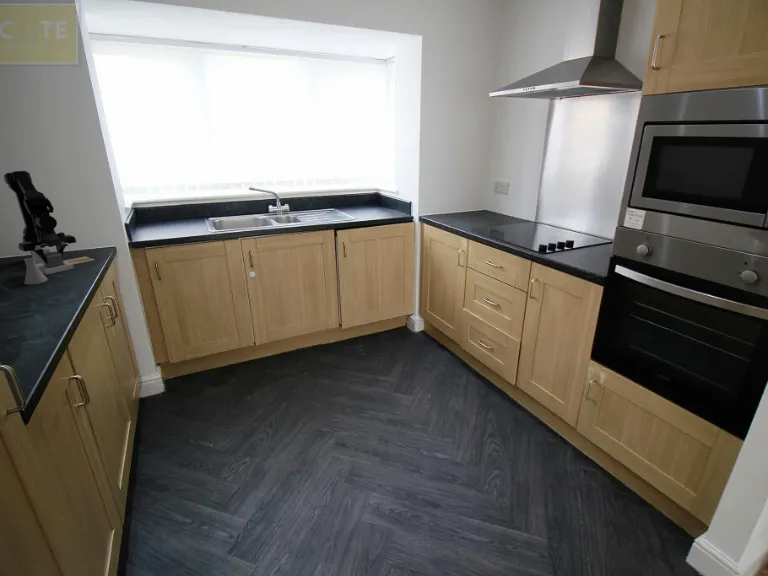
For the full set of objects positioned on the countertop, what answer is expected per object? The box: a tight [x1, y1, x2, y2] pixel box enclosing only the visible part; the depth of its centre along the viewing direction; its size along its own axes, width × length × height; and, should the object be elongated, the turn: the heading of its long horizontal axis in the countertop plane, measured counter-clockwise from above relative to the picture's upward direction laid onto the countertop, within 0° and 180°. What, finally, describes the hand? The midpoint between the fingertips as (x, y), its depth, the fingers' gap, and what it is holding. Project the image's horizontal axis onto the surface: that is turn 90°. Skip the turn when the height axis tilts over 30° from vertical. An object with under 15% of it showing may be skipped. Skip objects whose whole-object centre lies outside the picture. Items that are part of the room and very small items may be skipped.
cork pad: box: [64, 256, 96, 265], centre depth 195 cm, size 10×9×1 cm
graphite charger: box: [44, 250, 64, 268], centre depth 180 cm, size 6×5×7 cm
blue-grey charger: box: [30, 247, 51, 263], centre depth 187 cm, size 6×5×7 cm
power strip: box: [24, 260, 75, 275], centre depth 186 cm, size 27×10×3 cm, turn 56°
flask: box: [23, 257, 49, 285], centre depth 165 cm, size 7×7×10 cm
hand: (53, 262), depth 180 cm, fingers closed on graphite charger, 5 cm apart
